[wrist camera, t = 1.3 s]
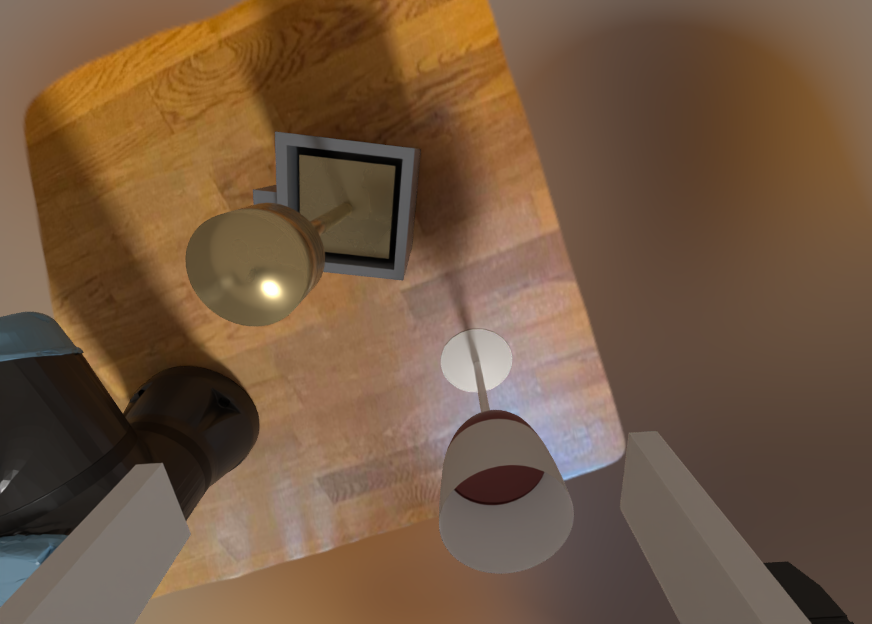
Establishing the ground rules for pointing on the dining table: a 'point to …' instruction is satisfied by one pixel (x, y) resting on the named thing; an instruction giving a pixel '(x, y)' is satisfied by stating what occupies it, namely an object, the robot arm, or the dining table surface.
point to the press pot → (398, 156)
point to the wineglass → (497, 472)
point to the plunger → (291, 240)
